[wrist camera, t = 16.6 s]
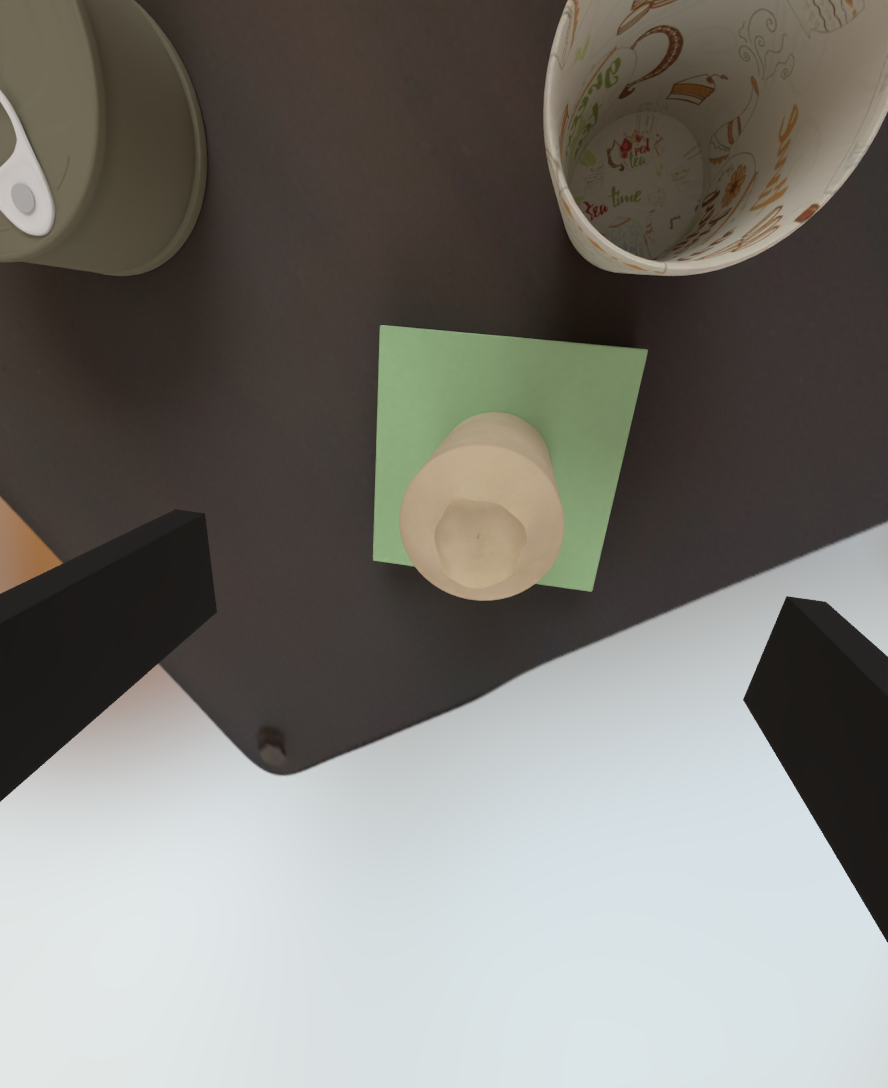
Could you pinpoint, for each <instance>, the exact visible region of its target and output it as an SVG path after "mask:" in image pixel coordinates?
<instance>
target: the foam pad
mask: <svg viewBox="0 0 888 1088" xmlns="http://www.w3.org/2000/svg"><path fill="white" fill-rule="evenodd" d="M647 353H648V350H647V349H639V348H628V347H617V346H606V345H595V344H584V343H573V342H562V341H551V340H540V339H529V338H518V337H507V336H496V335H485V334H474V333H463V332H452V331H441V330H430V329H419V328H408V327H398V326H387V325H380V339H379V372H378V406H377V439H376V473H375V507H374V540H373V560H374V561H380V562H387V563H394V564H401V565H408V566H414V565H413V563H412V561H411V560H410V558H409V556H408V555H407V552H406V550H405V548H404V545H403V541H402V538H401V532H400V510H401V505H402V501H403V497H404V495H405V493H406V490H407V488H408V486H409V485H410V483H411V481H412V480H413V478H414V477H415V476H416V474H417V473H418V472H419V471H420V469H421V468H422V467H423V466H424V464H425V463H426V462H427V461H428V459H429V458H430V457H431V456H432V454H433V453H434V452H435V451H436V449H437V448H438V447H439V446H440V444H441V443H442V442H443V441H444V439H445V438H446V437H447V436H448V435H449V433H450V432H451V431H452V430H453V429H454V428H455V427H456V426H457V425H459V424H460V423H461V422H463V421H464V420H466V419H468V418H470V417H472V416H475V415H478V414H482V413H487V412H502V413H508V414H511V415H514V416H517V417H519V418H521V419H523V420H524V421H526V422H527V423H529V424H530V425H531V426H532V427H534V428H535V429H536V430H537V432H538V433H539V434H540V435H541V437H542V438H543V440H544V442H545V444H546V446H547V448H548V451H549V455H550V458H551V462H552V466H553V470H554V474H555V478H556V482H557V487H558V491H559V495H560V499H561V503H562V507H563V513H564V537H563V542H562V545H561V549H560V552H559V554H558V556H557V558H556V560H555V562H554V563H553V565H552V567H551V568H550V569H549V570H548V572H547V573H546V574H545V575H544V576H543V577H542V578H541V579H540V580H539V581H538V582H537V583H535V584H541V585H548V586H555V587H562V588H569V589H576V590H583V591H590V592H592V590H593V586H594V581H595V577H596V573H597V568H598V564H599V560H600V555H601V551H602V547H603V543H604V538H605V534H606V530H607V525H608V521H609V517H610V513H611V508H612V504H613V500H614V495H615V491H616V487H617V482H618V478H619V474H620V470H621V465H622V461H623V457H624V452H625V448H626V444H627V439H628V435H629V431H630V427H631V422H632V418H633V414H634V409H635V405H636V401H637V396H638V392H639V388H640V384H641V379H642V375H643V371H644V366H645V362H646V358H647Z"/></svg>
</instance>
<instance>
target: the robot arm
mask: <svg viewBox="0 0 888 1088" xmlns="http://www.w3.org/2000/svg"><path fill="white" fill-rule="evenodd" d="M216 612H217V610H216V601H215V593H214V585H213V577H212V568H211V560H210V552H209V543H208V535H207V527H206V519H205V514H204V513H197V512H190V511H183V510H176V509H175V510H173V511H171V512H169V513H167V514H165V515H163V516H161V517H159V518H157V519H155V520H153V521H150V522H148V523H146V524H144V525H142V526H140V527H138V528H136V529H134V530H132V531H130V532H128V533H126V534H124V535H121V536H119V537H117V538H115V539H113V540H111V541H109V542H107V543H105V544H103V545H101V546H99V547H97V548H95V549H92V550H90V551H88V552H86V553H84V554H82V555H80V556H78V557H76V558H74V559H72V560H70V561H68V562H66V563H63V564H61V565H60V566H57V567H55V568H53V569H51V570H49V571H47V572H45V573H43V574H41V575H39V576H37V577H34V578H32V579H30V580H28V581H26V582H24V583H22V584H20V585H18V586H16V587H14V588H12V589H10V590H7V591H5V592H3V593H1V594H0V801H1V800H3V799H4V798H5V797H6V796H7V795H8V794H10V793H11V792H12V791H13V790H14V789H15V788H16V787H17V786H19V785H20V784H21V783H22V782H23V781H24V780H25V779H27V778H28V777H29V776H30V775H31V774H32V773H33V772H35V771H36V770H37V769H38V768H39V767H40V766H42V765H43V764H44V763H45V762H46V761H47V760H48V759H50V758H51V757H52V756H53V755H54V754H55V753H56V752H57V751H59V750H60V749H61V748H62V747H63V746H64V745H66V743H68V742H69V741H70V740H71V739H72V738H74V737H75V736H76V735H77V734H78V733H79V732H80V731H82V730H83V729H84V728H85V727H86V726H87V725H88V724H89V723H91V722H92V721H93V720H94V719H95V718H96V717H97V716H99V715H100V714H101V713H102V712H103V711H104V710H105V709H107V708H108V707H109V706H110V705H111V704H112V703H114V702H115V701H116V700H117V699H118V698H119V697H120V696H122V695H123V694H124V693H125V692H126V691H127V690H128V689H129V688H131V687H132V686H133V685H134V684H135V683H136V682H138V681H139V680H140V679H141V678H142V677H143V676H144V675H145V674H147V672H149V671H150V670H151V669H152V668H153V667H155V665H157V664H158V663H159V662H160V661H161V660H163V659H164V658H165V657H166V656H167V655H168V654H169V653H171V652H172V651H173V650H174V649H175V648H176V647H177V646H179V645H180V644H181V643H182V642H183V641H184V640H185V639H187V638H188V637H189V636H190V635H191V634H192V633H193V632H195V631H196V630H197V629H198V628H199V627H200V626H201V625H203V624H204V623H205V622H206V621H207V620H208V619H209V618H211V617H212V616H213V615H214V614H215V613H216ZM743 700H744V702H745V703H746V705H747V707H748V708H749V710H750V712H751V714H752V715H753V717H754V719H755V720H756V722H757V723H758V725H759V727H760V729H761V730H762V732H763V734H764V735H765V737H766V739H767V740H768V742H769V744H770V746H771V747H772V749H773V751H774V752H775V754H776V756H777V757H778V759H779V761H780V762H781V764H782V766H783V767H784V769H785V771H786V772H787V774H788V776H789V777H790V779H791V781H792V782H793V784H794V786H795V787H796V789H797V791H798V793H799V794H800V796H801V798H802V799H803V801H804V803H805V804H806V806H807V808H808V809H809V811H810V813H811V814H812V816H813V818H814V820H815V821H816V823H817V824H818V826H819V828H820V829H821V831H822V833H823V835H824V836H825V838H826V840H827V841H828V843H829V845H830V846H831V848H832V850H833V851H834V853H835V855H836V857H837V858H838V860H839V861H840V863H841V865H842V867H843V868H844V870H845V872H846V873H847V875H848V877H849V878H850V880H851V882H852V883H853V885H854V886H855V888H856V890H857V892H858V894H859V895H860V897H861V899H862V900H863V902H864V904H865V905H866V907H867V908H868V910H869V912H870V913H871V915H872V917H873V919H874V920H875V922H876V924H877V925H878V927H879V929H880V931H881V932H882V934H883V935H884V937H885V939H886V941H887V942H888V657H887V656H886V655H885V654H884V653H883V652H882V651H881V650H879V649H878V648H877V647H876V646H875V645H874V644H873V643H872V642H870V641H869V640H868V639H867V638H866V637H865V636H864V635H863V634H861V633H860V632H859V631H858V630H857V629H856V628H855V627H854V626H852V625H851V624H850V623H849V622H848V621H847V620H846V619H844V618H843V617H842V616H841V615H840V614H839V613H837V611H835V610H834V609H833V608H832V607H831V606H830V605H829V604H827V603H826V602H823V601H816V600H808V599H801V598H794V597H786V599H785V602H784V604H783V606H782V609H781V611H780V614H779V616H778V618H777V621H776V623H775V625H774V628H773V630H772V632H771V635H770V638H769V640H768V642H767V645H766V647H765V649H764V652H763V654H762V656H761V659H760V662H759V664H758V666H757V668H756V671H755V673H754V675H753V678H752V680H751V683H750V685H749V687H748V690H747V692H746V694H745V697H744V699H743Z"/></svg>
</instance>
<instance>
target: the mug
mask: <svg viewBox="0 0 888 1088" xmlns="http://www.w3.org/2000/svg"><path fill="white" fill-rule="evenodd" d="M887 112H888V0H568V1H567V3H566V5H565V8H564V11H563V14H562V16H561V19H560V22H559V25H558V27H557V31H556V34H555V38H554V41H553V45H552V49H551V54H550V58H549V63H548V68H547V75H546V83H545V91H544V108H543V121H544V139H545V149H546V155H547V161H548V167H549V171H550V175H551V179H552V182H553V186H554V190H555V193H556V197H557V200H558V204H559V208H560V211H561V215H562V218H563V222H564V225H565V229H566V231H567V234H568V236H569V238H570V240H571V242H572V244H573V245H574V247H575V248H576V250H577V251H578V252H579V253H580V254H581V256H582V257H584V258H585V259H586V260H587V261H588V262H590V263H591V264H593V265H594V266H596V267H598V268H601V269H603V270H606V271H610V272H615V273H626V274H643V275H660V276H684V275H693V274H700V273H706V272H710V271H714V270H719V269H722V268H725V267H728V266H731V265H734V264H737V263H739V262H742V261H744V260H746V259H748V258H751V257H753V256H755V255H757V254H759V253H761V252H763V251H765V250H766V249H768V248H770V247H772V246H773V245H775V244H777V243H778V242H780V241H781V240H783V239H784V238H786V237H787V236H789V235H790V234H791V233H792V232H794V231H795V230H796V229H798V228H799V227H800V226H802V225H803V224H804V223H805V222H806V221H807V220H808V219H810V218H811V217H812V216H813V215H814V214H815V213H816V212H817V211H818V210H819V209H820V208H821V207H822V206H823V205H824V204H825V203H826V202H827V201H828V200H829V199H830V198H831V197H832V196H833V195H834V194H835V193H836V191H837V190H838V189H839V188H840V187H841V186H842V185H843V183H844V182H845V181H846V179H847V178H848V177H849V176H850V174H851V173H852V172H853V170H854V169H855V168H856V166H857V165H858V163H859V162H860V160H861V159H862V157H863V156H864V154H865V153H866V151H867V150H868V148H869V146H870V144H871V143H872V141H873V139H874V137H875V136H876V134H877V132H878V130H879V128H880V126H881V124H882V122H883V120H884V118H885V116H886V114H887Z"/></svg>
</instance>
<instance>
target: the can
mask: <svg viewBox="0 0 888 1088" xmlns="http://www.w3.org/2000/svg"><path fill="white" fill-rule="evenodd" d="M206 179H207V146H206V136H205V130H204V123H203V119H202V115H201V110H200V106H199V103H198V100H197V97H196V93H195V91H194V88H193V85H192V83H191V80H190V78H189V75H188V73H187V71H186V69H185V67H184V65H183V63H182V61H181V59H180V57H179V55H178V54H177V52H176V50H175V48H174V47H173V45H172V44H171V42H170V41H169V39H168V38H167V36H166V35H165V33H164V32H163V31H162V30H161V28H160V27H159V26H158V24H157V23H156V22H155V21H154V20H153V19H152V17H151V16H150V15H149V14H148V13H147V12H146V11H145V10H144V9H143V8H142V7H141V6H140V5H139V4H138V3H136V2H135V1H134V0H0V262H18V261H21V262H28V263H35V264H42V265H48V266H55V267H61V268H68V269H74V270H81V271H89V272H95V273H99V274H104V275H112V276H131V275H138V274H142V273H145V272H148V271H151V270H153V269H155V268H157V267H159V266H161V265H162V264H164V263H165V262H167V261H168V260H169V259H170V258H172V257H173V256H174V255H175V254H176V253H177V252H178V251H179V250H180V248H181V247H182V246H183V244H184V243H185V242H186V240H187V239H188V237H189V235H190V234H191V232H192V230H193V228H194V226H195V224H196V221H197V219H198V216H199V213H200V210H201V207H202V203H203V199H204V194H205V188H206Z"/></svg>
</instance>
